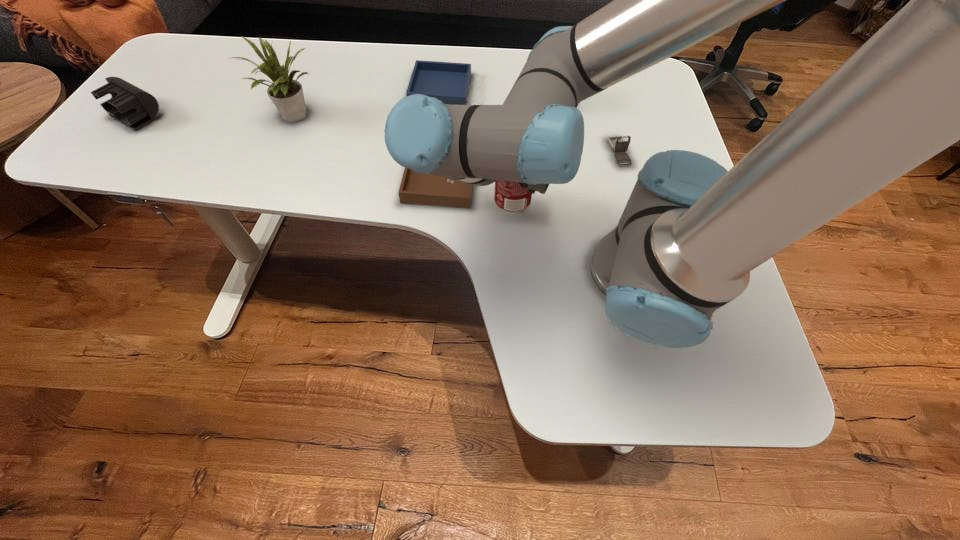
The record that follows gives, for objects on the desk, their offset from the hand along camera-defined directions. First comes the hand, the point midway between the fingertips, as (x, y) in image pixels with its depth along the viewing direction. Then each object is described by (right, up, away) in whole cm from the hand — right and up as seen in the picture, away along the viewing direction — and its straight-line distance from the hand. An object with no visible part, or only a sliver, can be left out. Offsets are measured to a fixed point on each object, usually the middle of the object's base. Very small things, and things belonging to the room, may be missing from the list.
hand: (523, 175), depth 78 cm
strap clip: (+21, +7, +13) cm, 26 cm away
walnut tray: (-16, 0, +7) cm, 17 cm away
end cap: (-82, +17, +17) cm, 86 cm away
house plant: (-50, +17, +18) cm, 56 cm away
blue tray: (-17, +25, +24) cm, 39 cm away
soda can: (-2, -5, +2) cm, 5 cm away
